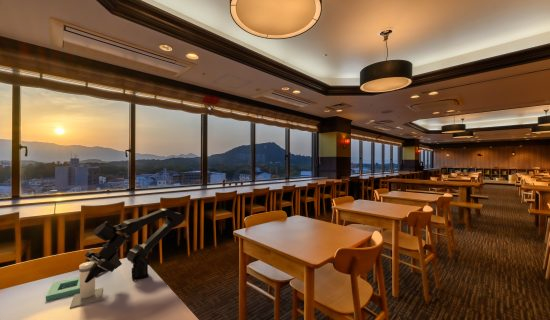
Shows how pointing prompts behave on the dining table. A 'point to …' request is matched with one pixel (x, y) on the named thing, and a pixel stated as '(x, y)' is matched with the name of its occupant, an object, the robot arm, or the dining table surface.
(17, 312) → the dining table surface
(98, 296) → the beige square plate
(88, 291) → the white capped cylinder
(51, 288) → the green square frame
